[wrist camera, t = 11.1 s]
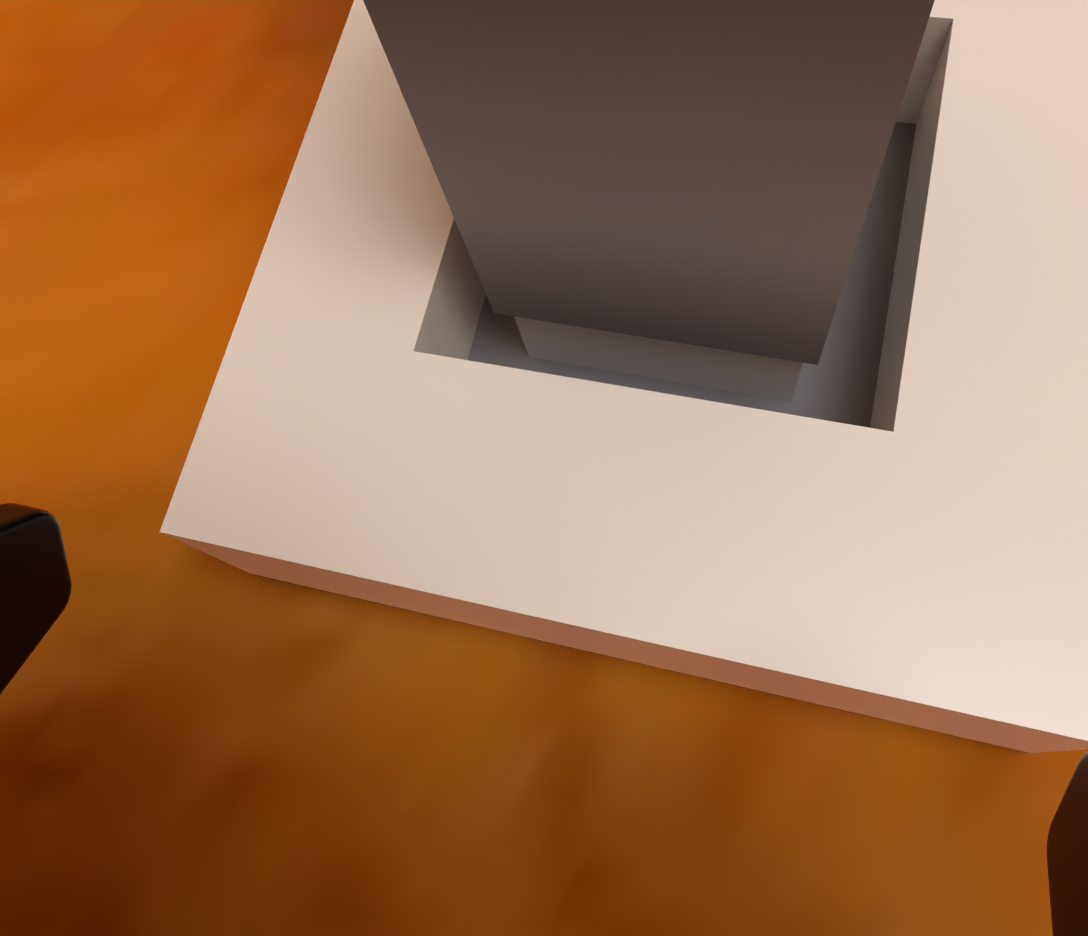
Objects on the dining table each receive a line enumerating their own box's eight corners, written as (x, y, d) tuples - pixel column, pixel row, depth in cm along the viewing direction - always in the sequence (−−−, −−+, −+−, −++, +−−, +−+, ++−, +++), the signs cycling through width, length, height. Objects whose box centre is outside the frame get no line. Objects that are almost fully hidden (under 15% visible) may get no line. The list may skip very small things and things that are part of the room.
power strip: (1029, 752, 14) (1139, 745, 10) (249, 573, 17) (137, 521, 13) (1125, -294, 20) (1215, -514, 16) (541, -301, 23) (515, -490, 19)
